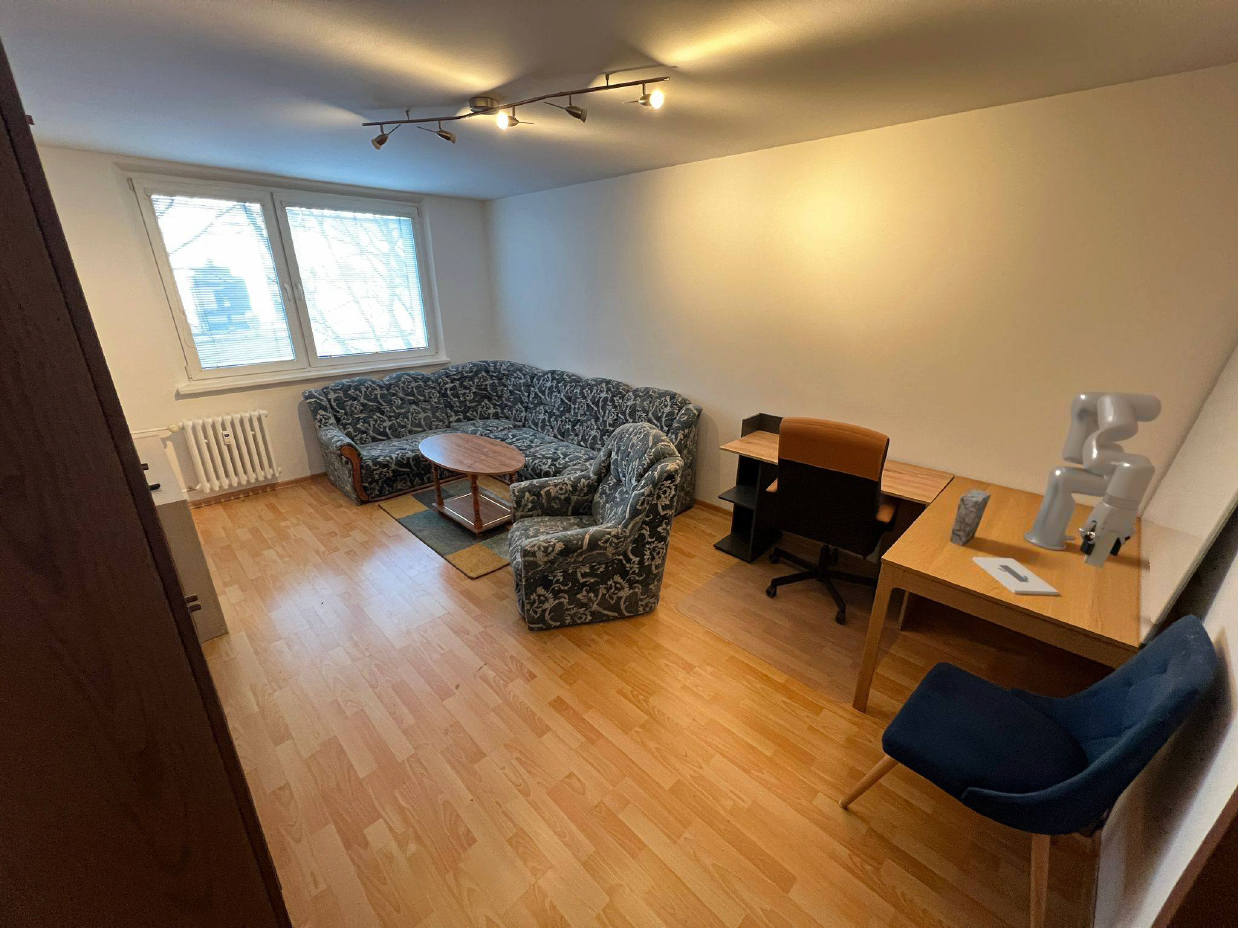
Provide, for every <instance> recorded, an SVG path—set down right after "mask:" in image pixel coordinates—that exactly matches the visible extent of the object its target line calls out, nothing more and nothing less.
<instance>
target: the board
mask: <svg viewBox="0 0 1238 928" xmlns="http://www.w3.org/2000/svg"><path fill="white" fill-rule="evenodd" d="M972 561H973V562H974V563H975V564H977V565H978V566H979V567H980V568H982V569H983V570H984V571H985V572H986V573H988V574H989V575H990V576H992V577H993V578H994V579H995V580H997V581H998V582H999V583H1000V584H1001V585H1003V586H1004V587H1005V588H1006V589H1008V590H1009V591H1010V592H1012V594H1014V595H1015V594H1016V595H1017V594H1019V595H1020V594H1021V595H1022V594H1023V595H1025V594H1026V595H1048V596H1050V595H1053V596H1058V594H1059V591H1058V590H1057V589H1056V588H1054V587H1053V586H1051V585H1050V584H1049V583H1047V582H1046V581H1045V580H1043V579H1042V578H1040V577H1039V576H1037V575H1036V574H1035V573H1033V572H1032V571H1030V570H1029V569H1027V568H1026V567H1025V566H1024V565H1022V564H1021V563H1020V562H1018V561H1017V560H1016V559H1014V558H1010V557H987V556H986V557H983V556H982V557H981V556H978V557H977V556H973V557H972Z"/></svg>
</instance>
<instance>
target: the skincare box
mask: <svg viewBox="0 0 1238 928" xmlns="http://www.w3.org/2000/svg"><path fill="white" fill-rule="evenodd" d="M1118 535H1119V532H1108V533H1107V535H1106V536H1105V537H1100V538H1099V539H1098V540H1097V541H1095V542H1094V543H1093V544H1095V547H1094V549H1093V551H1092V553H1091V555H1090V556H1089V555H1086V554H1084V555H1085V556H1084V559H1083V564H1087V565H1089V566H1093V567H1097V568H1099V569H1103V567H1104V566H1105V563H1106V561H1107V559H1108V557H1109V555H1110V554H1109V553H1110V551H1111V549H1112V547H1113V545H1114V543H1115V541H1116V539H1117V537H1118Z"/></svg>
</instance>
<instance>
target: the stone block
mask: <svg viewBox="0 0 1238 928" xmlns="http://www.w3.org/2000/svg"><path fill="white" fill-rule="evenodd" d="M990 498H991V493H988V492H986V491H982V490H980V489H977V488H973V489H972V490H970V491H968V492H967V493H963V494H962V495H961V496H960V499H959V503H958V506H957V511H956V515H955V519H954V524H953V527H952V530H951V534H950V538H949V541H950V542H951V543H953V544H956V545H958V546H961V547H965V546H967V544H969V543H970V542H971V541H972V540H973V539H975V536H976V533H977V531H978V528H979V526H980V524H981V521H982V518H983V516H984V513H985V510H986V508H987V506H988V502H989V501H990V500H991V499H990Z"/></svg>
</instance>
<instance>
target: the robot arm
mask: <svg viewBox="0 0 1238 928" xmlns="http://www.w3.org/2000/svg"><path fill="white" fill-rule="evenodd" d="M1162 408H1163V407H1162V402H1161V400H1160V399H1159V398H1158V397H1157V396H1155V395H1152V394H1144V393H1143V394H1140V393H1132V392H1131V393H1130V392H1118V391H1117V392H1115V391H1114V392H1103V391H1082V392H1079V393H1077V394H1076V395H1075V396H1074V397H1073V399H1072V401H1071V405H1070V419H1071V421H1070V427H1069V430H1068V433H1067V435H1066V440H1065V442H1064V446H1063V448H1062V452H1061V457H1062V459H1063V461H1065V462H1067V463H1071V464H1076V465H1082V466H1083V467H1077V466H1070V465H1058V466H1055V467H1053V468H1052V469H1051V470H1050V471H1049V472H1048V473H1049V474H1048V479H1047V486H1046V489H1045V494H1044V497H1043V498H1042V501H1041V504H1040V506H1039V510H1038V512H1037V515H1036V518H1035V520H1034V523H1033V525H1032V528H1031V530H1030V531H1026V532H1025V533H1024V534H1023V538H1024V539H1025V541H1027V542H1029V543H1030V544H1032V545H1035V546H1037V547H1040V548H1044V549H1048V550H1053V551H1054V550H1055V551H1063V550H1065V549H1066V547H1067V544H1066V541H1075V540H1076V536H1075V535H1069V534H1068V535H1067V530H1068V528H1069V525H1070V522H1071V520H1072V518H1073V516H1074V513H1075V510H1076V508H1077V502H1076V500H1075V499H1074V497H1073V494H1075V495H1083V496H1089V497H1094V498H1096V497H1097V498H1102V500H1101V501H1099V502H1097V504H1095V506H1094V508H1093V509H1092V510H1091V512H1090V514H1089V515H1088V517H1087V520H1086V521H1085V523H1084V526H1081V527H1079V529H1078V532H1079V534H1080V537H1081V539H1082V542H1081V545H1080V546H1079V547H1080V548H1079V552H1080V553H1083V554H1084V555H1089V556H1090V555H1091V553H1092V551H1093V549H1094V547H1095V544H1093V543H1094V542H1095V541H1097V540H1098V539H1099V538H1100V537H1105V536H1106V535H1107V533H1108V532H1119V535H1118V537H1117V539H1116V541H1115V543H1114V545H1113V547H1112V549H1111V551H1110V553H1109V555H1111V556H1113V557H1118V554H1119V553H1120V551H1121V549H1122V545H1123V546H1124V545H1125V544H1126V542H1127V541H1129V540H1130V539H1131V538H1132V537H1134V536H1135V535H1136V534H1137V533H1138V532H1137V530H1136V529H1135V528H1134V527H1135V523H1136V521H1137V517H1138V514H1139V508H1140V505H1141V503H1142V501H1143V498H1144V496H1145V494H1146V492H1147V489H1148V488H1149V485H1150V483H1151V481H1152V480H1153V477H1154V475H1155V473H1156V467H1155V466H1154V465H1153V464H1152V462H1151V460H1150V458H1148V457H1147V456H1145V455H1142V454H1136V453H1130V452H1129V453H1128V452H1125V449H1124V446H1122V445H1121V444H1119V443H1117V442H1123V441H1127V440H1128V439H1131V438H1133V437H1135V436H1136V435H1137V434H1138V432H1139V424H1138V422H1139V423H1141V422H1142V423H1150V422H1151V423H1152V422H1153V421H1155V420H1156V419H1158V417H1159V416H1160V414H1161V412H1162Z"/></svg>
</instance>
